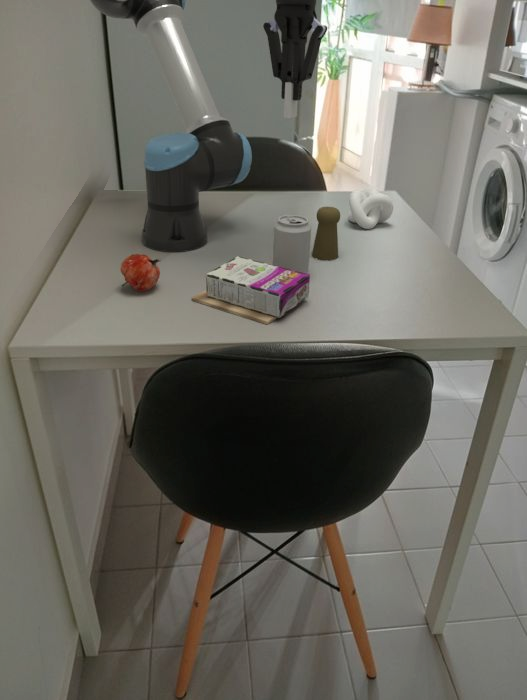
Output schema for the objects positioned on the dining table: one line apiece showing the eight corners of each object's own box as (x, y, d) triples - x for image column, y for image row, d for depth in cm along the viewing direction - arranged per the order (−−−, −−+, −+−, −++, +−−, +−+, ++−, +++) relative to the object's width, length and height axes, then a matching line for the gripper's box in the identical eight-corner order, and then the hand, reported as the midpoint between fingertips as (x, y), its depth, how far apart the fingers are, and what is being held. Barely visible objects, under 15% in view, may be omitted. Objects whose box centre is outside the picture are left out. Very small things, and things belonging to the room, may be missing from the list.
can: (283, 283, 124) (286, 226, 118) (266, 270, 129) (268, 215, 123) (314, 277, 127) (319, 221, 121) (296, 265, 132) (299, 211, 126)
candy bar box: (309, 298, 116) (238, 277, 124) (311, 274, 114) (238, 254, 121) (279, 320, 108) (205, 296, 115) (280, 295, 106) (204, 272, 113)
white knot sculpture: (372, 235, 151) (377, 200, 146) (332, 224, 158) (335, 190, 153) (395, 225, 159) (400, 191, 154) (356, 215, 165) (360, 182, 161)
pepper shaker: (337, 261, 135) (341, 213, 129) (310, 259, 136) (313, 210, 130) (339, 252, 140) (344, 205, 135) (313, 249, 141) (317, 202, 135)
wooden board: (191, 300, 115) (191, 297, 115) (236, 275, 126) (236, 272, 126) (267, 324, 107) (267, 321, 107) (308, 295, 119) (308, 293, 118)
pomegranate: (121, 305, 117) (157, 282, 113) (100, 273, 116) (136, 248, 112) (141, 295, 124) (176, 272, 119) (122, 264, 123) (156, 240, 118)
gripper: (256, -21, 112) (253, 115, 123) (318, -20, 106) (309, 123, 117) (277, -19, 117) (272, 111, 129) (338, -18, 111) (327, 118, 123)
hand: (290, 117), depth 123 cm, fingers closed
